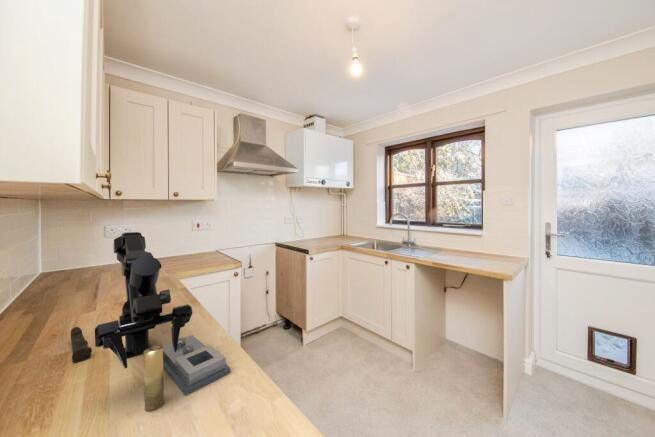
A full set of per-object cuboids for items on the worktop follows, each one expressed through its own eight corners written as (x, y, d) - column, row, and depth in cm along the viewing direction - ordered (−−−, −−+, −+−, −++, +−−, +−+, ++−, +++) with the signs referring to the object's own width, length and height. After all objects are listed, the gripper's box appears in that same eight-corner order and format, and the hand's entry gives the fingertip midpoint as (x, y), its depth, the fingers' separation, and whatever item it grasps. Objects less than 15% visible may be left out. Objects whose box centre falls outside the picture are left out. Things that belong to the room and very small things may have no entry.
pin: (142, 405, 55) (141, 350, 55) (161, 396, 58) (160, 343, 58) (147, 414, 53) (146, 356, 53) (166, 404, 56) (165, 349, 55)
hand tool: (92, 359, 73) (91, 343, 72) (72, 365, 70) (71, 349, 70) (86, 336, 86) (86, 322, 85) (70, 340, 83) (69, 326, 82)
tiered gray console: (156, 358, 73) (155, 343, 73) (196, 343, 81) (195, 329, 81) (184, 395, 58) (184, 377, 58) (229, 372, 67) (229, 356, 67)
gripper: (93, 288, 54) (95, 362, 46) (190, 273, 66) (204, 329, 59) (94, 313, 60) (96, 382, 52) (182, 295, 73) (194, 349, 65)
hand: (152, 359), depth 57 cm, fingers open, 9 cm apart
